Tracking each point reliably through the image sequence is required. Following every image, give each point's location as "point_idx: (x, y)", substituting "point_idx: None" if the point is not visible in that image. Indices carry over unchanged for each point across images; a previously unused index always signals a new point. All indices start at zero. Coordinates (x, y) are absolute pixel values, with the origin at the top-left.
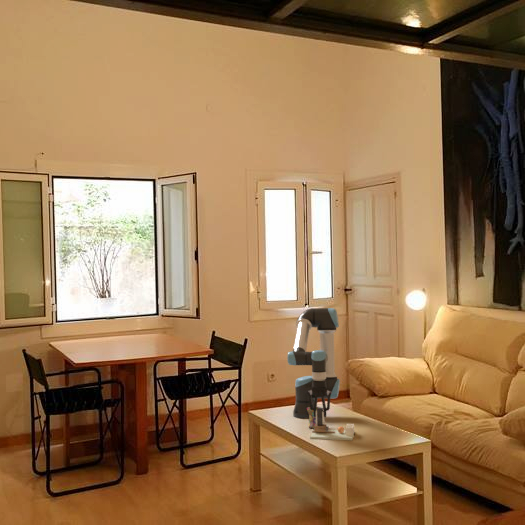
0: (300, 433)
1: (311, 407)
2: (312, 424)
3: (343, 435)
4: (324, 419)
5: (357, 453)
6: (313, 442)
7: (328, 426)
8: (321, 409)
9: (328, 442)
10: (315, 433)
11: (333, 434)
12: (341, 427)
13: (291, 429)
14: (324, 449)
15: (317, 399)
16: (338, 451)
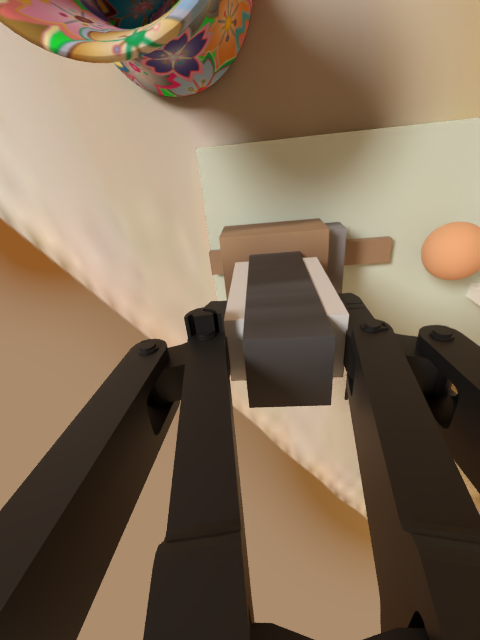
0: (126, 260)
1: (161, 418)
2: (151, 76)
3: (450, 302)
4: (322, 268)
5: (475, 502)
6: (262, 410)
7: (345, 232)
8: (318, 399)
9: (342, 399)
10: None
11: (375, 291)
12: (471, 271)
13: (4, 160)
14: (330, 480)
15: (238, 494)
16: None
